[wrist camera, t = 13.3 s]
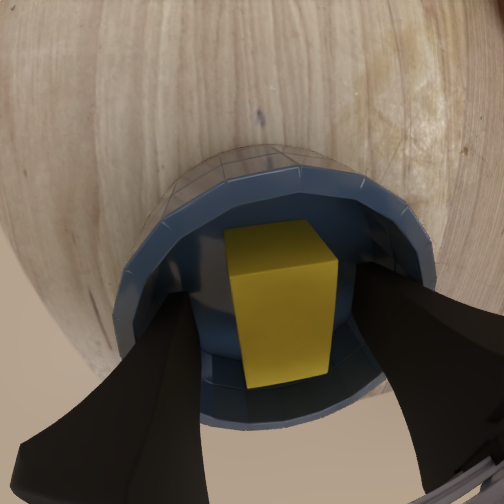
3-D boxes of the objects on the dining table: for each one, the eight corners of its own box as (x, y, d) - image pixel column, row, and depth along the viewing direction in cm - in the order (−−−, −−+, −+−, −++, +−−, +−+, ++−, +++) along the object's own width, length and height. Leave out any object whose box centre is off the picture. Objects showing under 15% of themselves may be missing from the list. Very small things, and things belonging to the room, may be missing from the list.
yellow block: (238, 331, 12) (247, 389, 9) (222, 228, 10) (229, 277, 7) (305, 320, 12) (327, 373, 10) (305, 217, 10) (339, 259, 8)
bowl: (185, 375, 14) (185, 445, 10) (104, 184, 9) (52, 230, 6) (373, 328, 14) (410, 386, 10) (373, 127, 10) (447, 145, 6)
